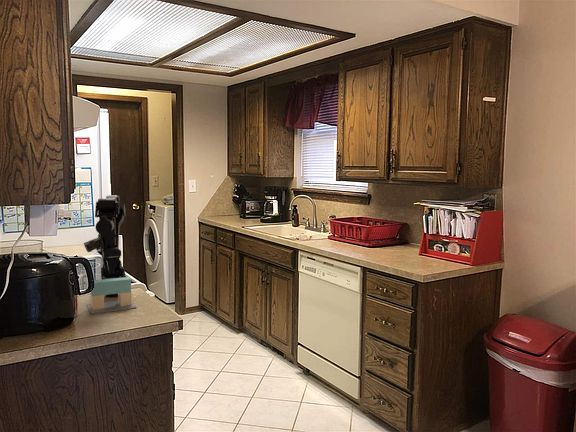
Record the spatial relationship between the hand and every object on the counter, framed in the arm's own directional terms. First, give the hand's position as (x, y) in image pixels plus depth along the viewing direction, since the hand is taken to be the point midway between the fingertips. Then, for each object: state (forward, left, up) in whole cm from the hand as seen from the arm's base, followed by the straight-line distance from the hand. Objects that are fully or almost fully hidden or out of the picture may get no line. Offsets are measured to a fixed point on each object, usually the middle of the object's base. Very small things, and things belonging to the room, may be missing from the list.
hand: (108, 271), depth 188 cm
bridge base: (+4, 0, -13) cm, 14 cm away
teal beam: (+4, 0, -8) cm, 8 cm away
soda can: (+9, -16, -13) cm, 23 cm away
